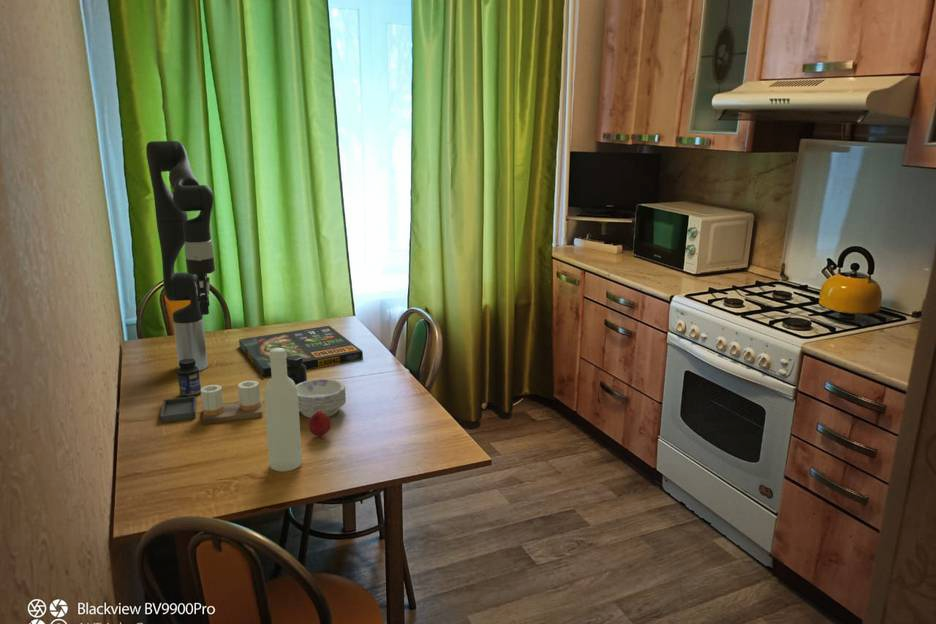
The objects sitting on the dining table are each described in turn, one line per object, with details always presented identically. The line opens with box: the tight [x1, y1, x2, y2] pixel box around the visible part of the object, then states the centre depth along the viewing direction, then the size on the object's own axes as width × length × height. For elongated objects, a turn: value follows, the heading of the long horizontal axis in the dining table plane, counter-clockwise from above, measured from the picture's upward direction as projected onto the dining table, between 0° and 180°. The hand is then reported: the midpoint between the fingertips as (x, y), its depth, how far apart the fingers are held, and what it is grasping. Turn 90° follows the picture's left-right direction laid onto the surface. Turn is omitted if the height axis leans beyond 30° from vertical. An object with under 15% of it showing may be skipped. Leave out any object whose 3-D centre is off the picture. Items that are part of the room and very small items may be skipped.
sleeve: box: [200, 384, 224, 415], centre depth 188 cm, size 6×6×7 cm
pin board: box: [201, 400, 263, 426], centre depth 190 cm, size 10×16×6 cm, turn 110°
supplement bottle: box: [286, 355, 308, 385], centre depth 204 cm, size 7×7×12 cm
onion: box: [308, 409, 332, 438], centre depth 177 cm, size 6×6×8 cm
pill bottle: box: [176, 358, 202, 398], centre depth 203 cm, size 6×6×11 cm
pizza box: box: [238, 325, 364, 378], centre depth 241 cm, size 35×35×4 cm
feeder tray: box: [160, 396, 198, 424], centre depth 192 cm, size 12×9×2 cm
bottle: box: [263, 348, 303, 473], centre depth 160 cm, size 8×8×30 cm
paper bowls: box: [296, 378, 347, 419], centre depth 192 cm, size 15×15×8 cm
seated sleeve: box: [237, 380, 262, 411], centre depth 192 cm, size 6×6×7 cm
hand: (205, 310), depth 194 cm, fingers open, 8 cm apart
